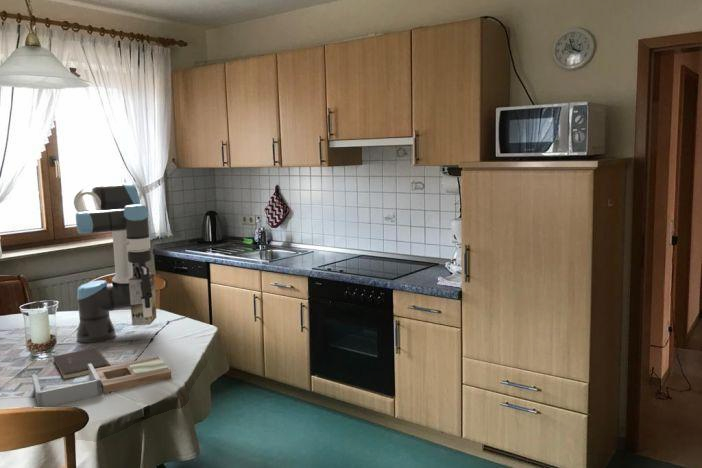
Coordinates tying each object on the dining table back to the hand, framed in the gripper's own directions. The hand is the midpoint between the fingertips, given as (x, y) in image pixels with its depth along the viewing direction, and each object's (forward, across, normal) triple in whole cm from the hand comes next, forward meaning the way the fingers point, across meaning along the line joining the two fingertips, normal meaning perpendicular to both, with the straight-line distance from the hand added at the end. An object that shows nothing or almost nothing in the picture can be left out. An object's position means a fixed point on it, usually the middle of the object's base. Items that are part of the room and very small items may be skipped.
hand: (144, 313), depth 213 cm
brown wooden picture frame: (+22, 0, -6) cm, 23 cm away
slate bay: (+22, +1, -26) cm, 34 cm away
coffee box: (+3, 0, 0) cm, 3 cm away
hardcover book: (+23, -24, -19) cm, 38 cm away
